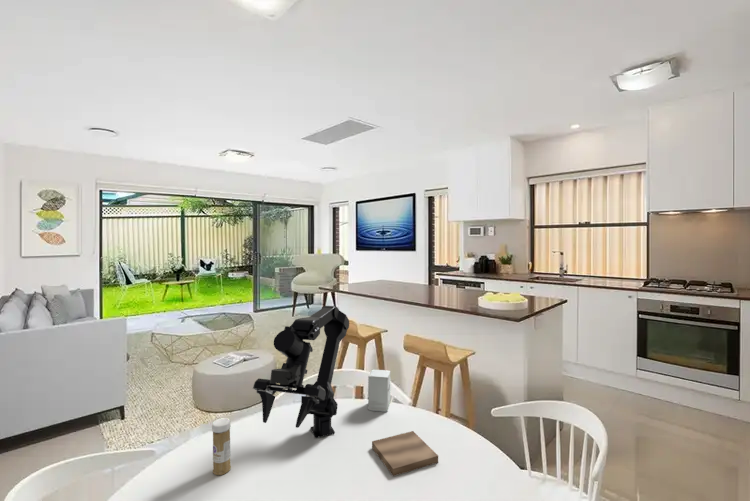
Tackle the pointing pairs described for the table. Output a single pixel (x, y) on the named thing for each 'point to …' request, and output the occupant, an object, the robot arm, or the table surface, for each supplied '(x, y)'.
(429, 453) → the brown wooden square board
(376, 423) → the table surface
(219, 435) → the sprinkles bottle
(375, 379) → the supplement box
